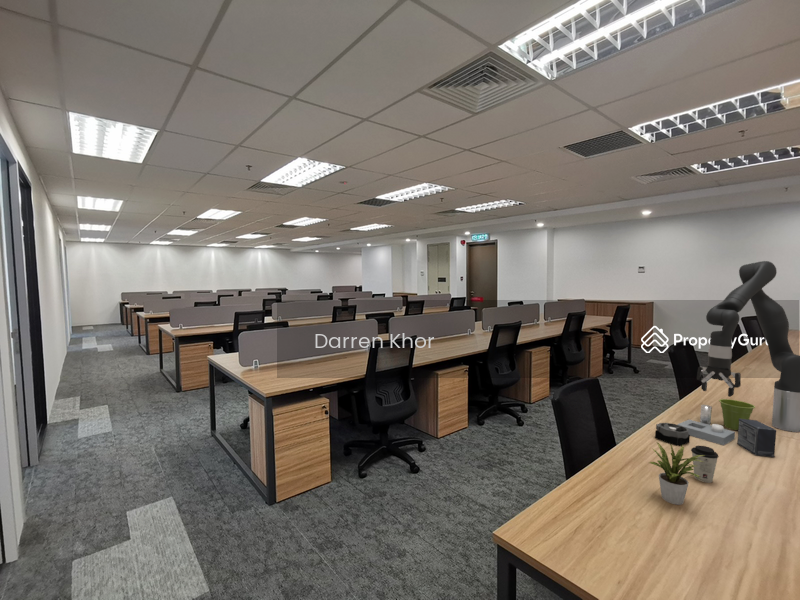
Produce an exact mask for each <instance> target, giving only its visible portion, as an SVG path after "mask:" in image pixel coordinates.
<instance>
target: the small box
mask: <svg viewBox="0 0 800 600" xmlns="http://www.w3.org/2000/svg"><path fill="white" fill-rule="evenodd" d="M737 431H738V432H737V442H736V444H737V445H738V446H739V447H741V448H743V449H744V450H746V451H748V452H749V453H751V454H752V455H754V456H755V457H756V456H757V457H758V456H760V457H769V458H775V451H776V440H777V438H776V437H777V436H776V435H777V429H776V428H774V427H773V428H772V427H771V426H768V425H767V424H765V423H762V422H761V421H758V420H756V419H749V420H748V419H739V428H738V430H737Z"/></svg>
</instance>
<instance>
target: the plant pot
mask: <svg viewBox="0 0 800 600" xmlns="http://www.w3.org/2000/svg"><path fill="white" fill-rule="evenodd" d="M718 401H719V402H720V407H721V413H722V420H723V427H725V429H728V430H731V431H738V428H739V419H748V420H750V418H751V415H752V413H753V411H754V409H756V406H755V405H754V404H752V403H749V402H745V401H741V400H736V399H731V398H730V399H728V398H721V399H718Z"/></svg>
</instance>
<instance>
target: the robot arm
mask: <svg viewBox="0 0 800 600" xmlns="http://www.w3.org/2000/svg"><path fill="white" fill-rule="evenodd" d="M738 275H739V279H740V280H741V282H742V284H741V285H739V286H737V287H736V288H734V289H733V290H732V291H730V292H729V293H728V294H727V296H726V297H725V298H724V299H723V301H721V302H719V303H718V304H715V306H713V307H711V308H710V309H709V310H708V311H707V313H706V315H705V319H706V321H707V323H708V324H710V325H713V326H719V327H720V326H721V327H723V328H722V330H715V331H712V332H711V333H710V336H709V337H710V338H709V348H708V357H707V367H704V366H698V367H697V373H696V381H699V382H701V387H700V388H701V390H702V391H703V392H707V390H708V381H709V380H711V379H712V380H718V381H724V383H726V385H727V386H728V389H727V390H728V391H727V396H728V397H730V398H731V397H732V396H734V394H735V388H737V389H738V388H740V387H741V386H742V385H741V381H742V380H741V379H742V378H741V377H742V376H741V372H734V371H733V372H732V370H731V367H732V357H733V352H732V351H733V350H732V345H733V344H732V343H733V337H734V336H733V335H734V333H735V330H736V328H737V326H738V324H739V321H740V314H739V313H740V312H741V311H742V310H743V309H744V307H745V306H746V305H747V304H748V302H749V301H751V304H752V306H753V309H754V312H755V315H756V318H757V321H758V324H759V326H760V329H761V331H762V334H763V336H764V338H765V341H766V343H767V349H768V351H769V356H770V361H771V364H772V366H773V367H774V369H775V370H777V371H778V372H780V378H779V380H775V382H774V385H773V387H774V388H773V401H772V403H773V404H772V417H771V426H772V427H773V428H774V429H779V430H782V431H787V432H791V431H792V432H791V433H800V354H799V355H798V354H795V353H794V352H793V349H792V348H791V345H790V342H789V331H790V330H789V329H790V323H789V319H788V316H787V314H786V311H785V309H784V308H783V306H781V305H780V304H779V303H778V301H775V300H774V299H773V298H772V297H770V296H769V295H767V293H766V292H765V291H764V290H763V288H764V287H765V286H767V285H768V284H770V283H771V282H772V281H773V280H774V279H775V278H776V276H777V267H776V265H775V264H774V263H773V262H771V261H768V260H763V261H758V262H751V263H748V264H743V265H741V266H740V267H739V269H738ZM705 371H706V373H707V375H706V376H705V377H703V375H704V374H703V373H704V372H705ZM731 376H732V377H733V378H734V383H733V381H732V379H731V378H730V377H731Z"/></svg>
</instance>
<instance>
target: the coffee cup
mask: <svg viewBox="0 0 800 600" xmlns="http://www.w3.org/2000/svg"><path fill="white" fill-rule="evenodd" d="M690 451H691V454H692V455H691V457H693V456H697V455H705V456H699V457H697V458H701V459H695V460H700V461H703V462H700V461H692V465H695V466H694V467H692V469H694V470H693V473H695V474H696V475H699V478H698V477H697V476H695V475H693V477H694V479H695V480H697V481H699V482H703V483H709V484H710V483H713V480H714V476H715V475H714V474H715V471H716V467H717V462H718V458H719V455H718V453H717V452H716V451H715V449H714V448H712V447H710V446H707V445H696V446H694V447H692V448H691V450H690ZM700 476H701V477H700Z"/></svg>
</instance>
